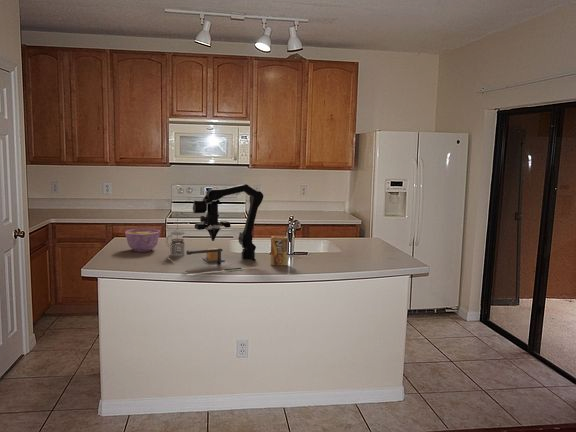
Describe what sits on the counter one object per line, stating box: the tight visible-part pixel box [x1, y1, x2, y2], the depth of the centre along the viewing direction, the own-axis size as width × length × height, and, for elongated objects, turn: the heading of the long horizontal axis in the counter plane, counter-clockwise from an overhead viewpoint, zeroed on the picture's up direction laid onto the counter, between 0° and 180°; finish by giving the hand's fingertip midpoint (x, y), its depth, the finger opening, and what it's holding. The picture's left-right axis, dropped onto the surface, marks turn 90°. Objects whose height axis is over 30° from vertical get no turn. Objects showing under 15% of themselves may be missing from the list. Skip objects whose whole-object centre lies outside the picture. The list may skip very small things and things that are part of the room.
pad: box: [223, 267, 244, 273], centre depth 260 cm, size 9×9×1 cm
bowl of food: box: [124, 228, 161, 253], centre depth 296 cm, size 20×20×12 cm
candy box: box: [270, 235, 288, 266], centre depth 270 cm, size 9×4×15 cm, turn 89°
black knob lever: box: [186, 248, 224, 264], centre depth 260 cm, size 19×2×8 cm, turn 118°
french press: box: [165, 212, 185, 257], centre depth 282 cm, size 10×12×25 cm
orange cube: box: [206, 247, 218, 261], centre depth 272 cm, size 6×6×6 cm
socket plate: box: [198, 256, 232, 267], centre depth 271 cm, size 12×20×2 cm, turn 28°
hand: (212, 240), depth 270 cm, fingers closed
